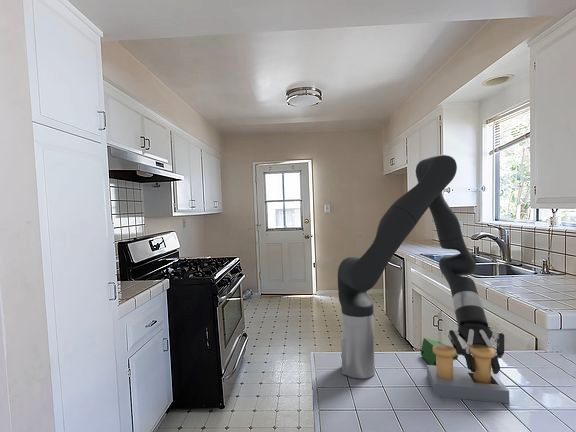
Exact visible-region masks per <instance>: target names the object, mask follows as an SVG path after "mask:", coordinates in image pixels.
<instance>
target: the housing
mask: <svg viewBox="0 0 576 432" xmlns="http://www.w3.org/2000/svg"><path fill="white" fill-rule="evenodd" d="M433 353H434V354H436V366H435V365H430V364H426V376H428V377H427V379H428V381H430V382H429V383H430V387H431V389H432V391H433V394H434V396H435V397H442V398H452V399H461V400H463V399H464V400H470V399H471V400H472V401H481V402H492V403H498V404H502V403H503V404H510V390H509V389H508V388H507V387H506V385H505V383H503V382H502V380H501V379H500V378H499V377H498V376H497V374H493V371H492V369H491V384H485V383H474V382H473V372H471V370H469V369H468V367H458V366H454V360H453V357H455V356H456V349H455V348H454V347H453V346H451V345H447V344H445V345H441V344H438V345H434V346H433Z"/></svg>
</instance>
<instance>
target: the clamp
mask: <svg viewBox="0 0 576 432" xmlns="http://www.w3.org/2000/svg"><path fill="white" fill-rule="evenodd" d="M438 344H441V345H446V344H445V343H444V342H441V341H439V340H435V339H430V338H427V337H423V339H422V345H421V348H420V349H421V350H420V356H421V357H422V358H423V359H424V360H425V361H426V362H427V363H428V365H435V366H436V354H434V353H433V346H434V345H438ZM458 358H459V355H458V354H457V353H456V356H455V357H453V361H458Z"/></svg>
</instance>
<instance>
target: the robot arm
mask: <svg viewBox="0 0 576 432" xmlns="http://www.w3.org/2000/svg"><path fill="white" fill-rule="evenodd" d="M457 170H458V165H457V161H456V159H455V158H454V157H453V156H452V155H448V154H437V155H434V156H431V157H427V158H424V159H422V160H420V161H419V162H418V163H417V164H416V167H415V177H416V179H417V184H415V186H413V187H412V188H411V189H410V190H408V191H407V192H406V193H404V194H403V195H401V196H400V197H399V198H398V199H396V201H394V202H393V203H392V204H391V205H390V206H389V208H388V209H387V210H386V212H385V213H384V214H383V216H382V217H381V218H380V221H379V223H378V226H377V229H376V234H375V237H374V240H373V241H372V243H371V245H370V246H369V247H368V249H367V250H366V251H365V252H364V253H363V254H362V256H361V257H356V256H349V257H346V258H344V259H343V260H342V261H341V262H340V264H339V266H338V269H337V292H338V293H337V294H338V302H339V303H340V304H339V305H340V307H341V340H340V343H341V351H340V352H341V375H345V376H348V377H350V378H353V379H362V380H363V379H369V378H371V377H373V376H375V368H376V367H375V366H376V365H375V364H376V363H375V322H374V321H375V317H374V314H375V313H374V311H375V310H374V304H373V302H372V301H371V299H370V298H369V294H368V291H369V290H371V289H372V288H374V287H375V286H376V284H377V283H378V281H379V279H380V278H381V276H382V274H383V273H384V271H385V270H386V268H387V266H388V264H389V262H390V261H391V259H392V257H394V255H395V254H396V253H397V251H398V249H399V248H400V247H401V245H402V244H403V242H404V241H405V240H406V238H407V237H408V236H409V235H410V234H411V232H412V231H413V229H414V228H415V227H416V226H417V224H418V222H419V221H420V220H421V218H422V217H423V215H425V213H426V212H427V210H428V209H429V211H430V213H431V216H432V219H433V223H434V225H435V229H436V230H435V231H436V234H437V238H438V242H439V245H440V247H441V248H442V249H443V250H444V249H445V250H456V251H458V252H459V253H457V254H450V255H448V254H447V255H444V256H441V258H440V259H439V261H438V267H439V270H440V272H441V273H442V275H443V277H444V278H445V280H446V281H447V284H448V286H449V289H450V292H451V298H452V306H453V312H454V315H455V318H456V319H455V320H456V324H457V327H458V329H457V330H453V329H451V330H449V331H448V334H447V337H448V339H449V341H450V343H451V345H452V347H453V348H455V349H456V353H457V354H458V356H463V358H465V362H466V363H465V364H466V368H468V369H469V370H471V372H475V370H476V368H475V364H474V360H473V355H472V354H471V353H470V350H469V347H470V346H472V345H473V344H480V345H485V346H487V347H491V348H492V349H494V351H495V357H494V358H491V370H492V371H493V374H495V375H498V374H499V372H500V371H501V366H500V362H499V359H501V358H502V357H503V356H504V354H505V334H504V333H502V332H500V333H496V332H493V331H492V330H491V329H490V327H489V323H488V320H487V316H486V312H485V309H484V307H483V303H482V300H481V299H480V296H479V293H478V289H477V285H476V283H475V281H474V279H472V278H470V277H468V276H470V275H473V274H475V272H476V271H477V264H476V261H475V259H474V257H473V256H472V253H471V252H470V251H469V249H468V247H467V245H466V242H465V240H464V236H463V232H462V228H461V224H460V221H459V219H458V217H457V215H456V213H455V212H454V211H453V210H452V208H451V207H450V206H449V204H448V202H447V201H446V199H445V198H444V196H443V194H442V192H443V191H444V190H445V189H446V188H447V187H448V185H450V184H451V182H452V181H453V179H454V178H455V176H456V173H457ZM459 337H460V338H461V339H462V340H463V341H464V342H465V345H464V348H463V346H462V345H461V342H460V341H459ZM491 339H493V341H494V343H496V350H495V348H494V347H493V343H492V342H491Z"/></svg>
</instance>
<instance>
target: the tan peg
mask: <svg viewBox="0 0 576 432" xmlns="http://www.w3.org/2000/svg"><path fill="white" fill-rule="evenodd" d="M469 350H470V353H471V355H473V360H474V364H475V368H476V370H475V372H473V382H474V383H485V384H491V370H492V367H491V358H494V357H495V351H496V350H495V348H494V349H492V348H491V347H487V346H485V345H480V344H473V345H472V346H470V347H469ZM494 350H495V351H494Z"/></svg>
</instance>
